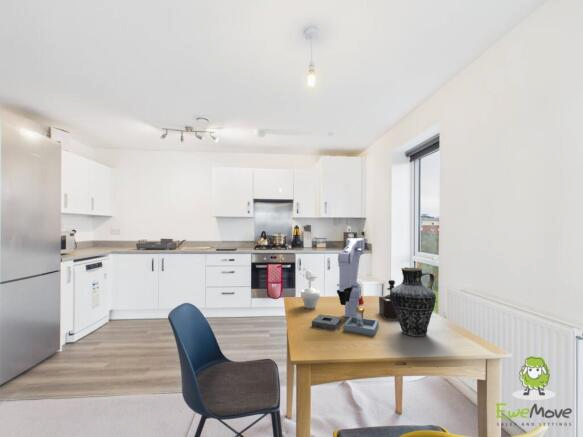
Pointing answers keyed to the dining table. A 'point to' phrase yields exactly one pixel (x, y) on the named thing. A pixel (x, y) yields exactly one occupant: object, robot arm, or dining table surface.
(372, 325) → the tray
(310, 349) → the dining table surface
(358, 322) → the pin
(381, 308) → the dark piece
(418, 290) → the jug
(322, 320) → the grey square frame
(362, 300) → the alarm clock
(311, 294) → the potted plant
